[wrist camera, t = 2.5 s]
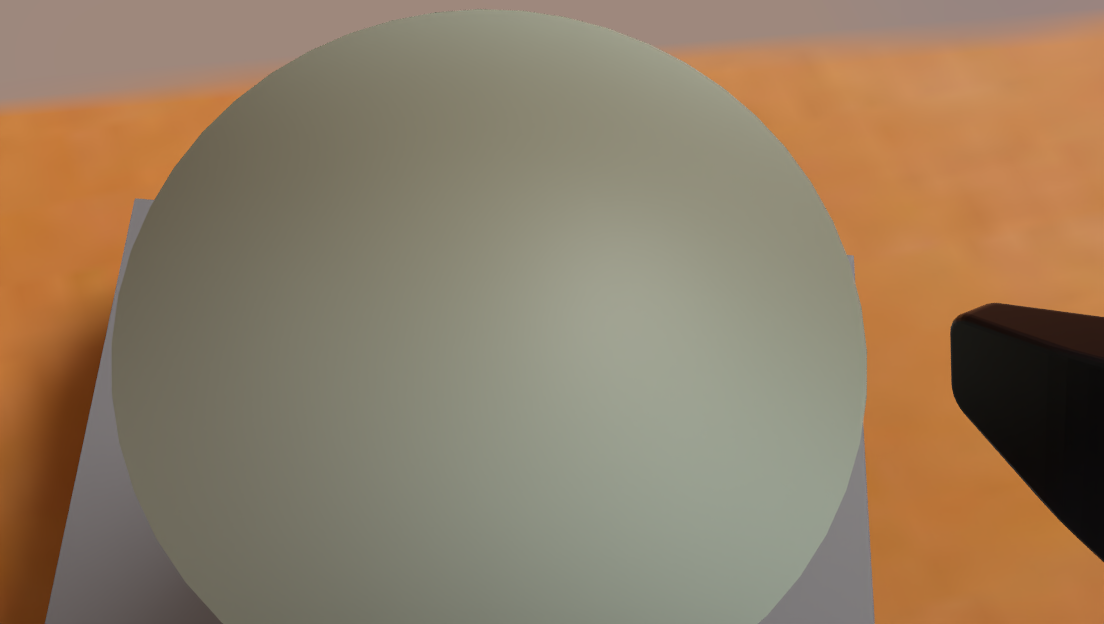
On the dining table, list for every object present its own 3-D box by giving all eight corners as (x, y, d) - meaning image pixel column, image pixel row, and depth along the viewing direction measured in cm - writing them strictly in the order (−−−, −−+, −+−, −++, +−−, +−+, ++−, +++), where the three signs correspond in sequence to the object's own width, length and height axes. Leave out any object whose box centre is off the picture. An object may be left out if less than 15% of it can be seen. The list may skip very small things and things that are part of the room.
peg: (613, 699, 17) (890, 749, 6) (319, 684, 17) (32, 708, 6) (620, 415, 19) (849, 40, 8) (353, 397, 19) (185, -22, 7)
